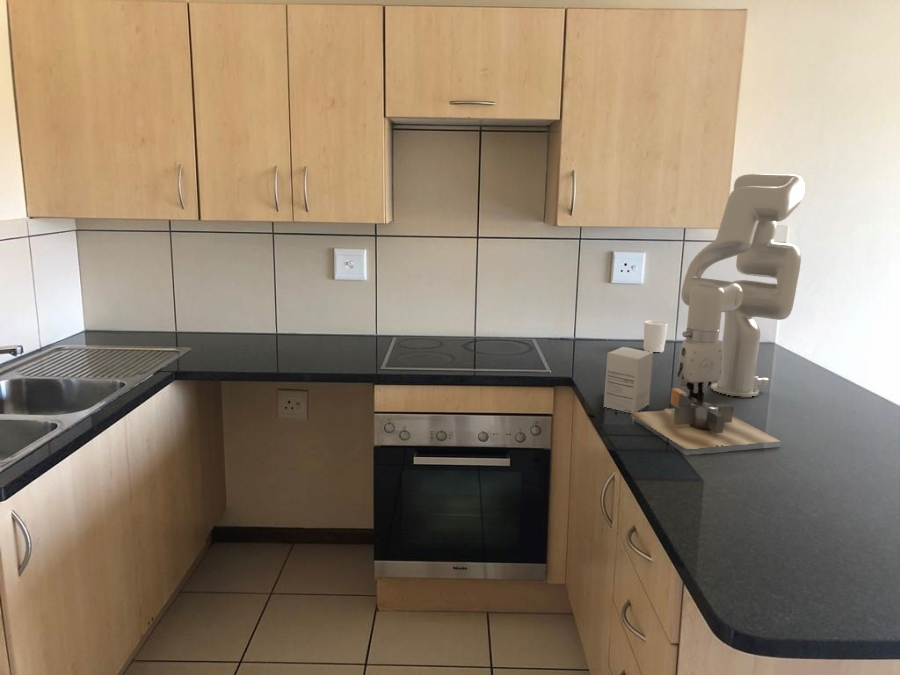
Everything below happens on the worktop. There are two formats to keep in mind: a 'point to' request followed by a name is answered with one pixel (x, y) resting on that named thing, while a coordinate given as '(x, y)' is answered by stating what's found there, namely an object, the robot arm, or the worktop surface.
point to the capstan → (699, 412)
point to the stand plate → (703, 432)
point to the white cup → (654, 335)
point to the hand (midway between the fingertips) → (695, 406)
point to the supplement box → (628, 379)
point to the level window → (670, 411)
